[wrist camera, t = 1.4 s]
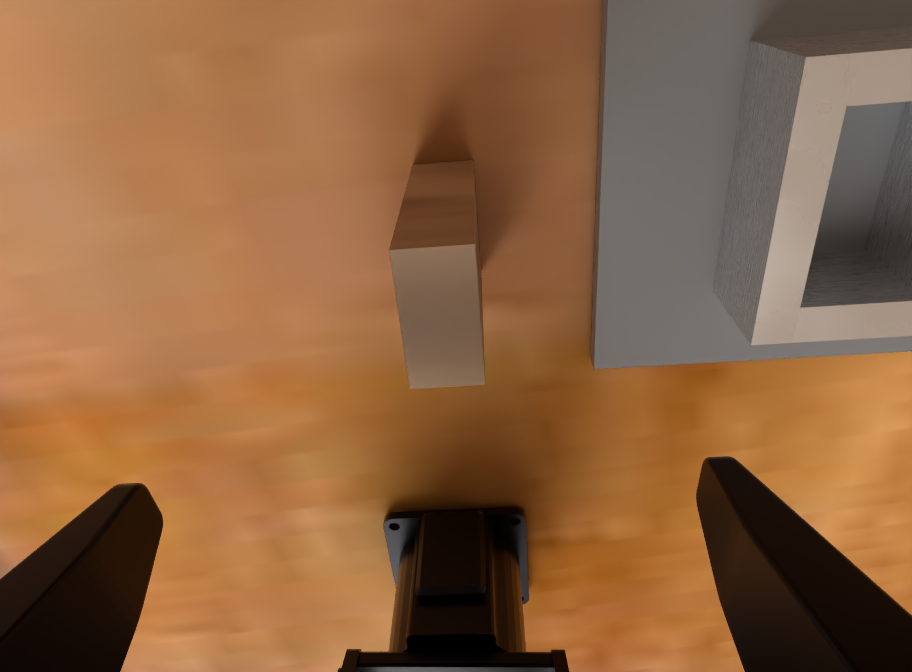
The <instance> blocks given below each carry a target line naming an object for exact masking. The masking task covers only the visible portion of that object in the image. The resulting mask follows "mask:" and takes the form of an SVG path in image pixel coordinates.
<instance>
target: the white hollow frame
mask: <svg viewBox="0 0 912 672" xmlns="http://www.w3.org/2000/svg"><path fill="white" fill-rule="evenodd" d="M895 102H905V103H904V107H903V110H902V114H901V118H900V121H899V125H898V129H897V132H896V136H895V139H894V143H893V147H892V150H891V154H890V158H889V161H888V165H887V168H886V172H885V176H884V179H883V183H882V187H881V190H880V194H879V197H878V201H877V205H876V208H875V212H874V216H873V219H872V223H871V226H870V230H869V234H868V237H867V241H866V245H865V248H864V251H850V252H835V253H820V254H813V250H814V245H815V241H816V237H817V232H818V228H819V224H820V219H821V215H822V211H823V206H824V202H825V198H826V193H827V189H828V185H829V180H830V176H831V172H832V167H833V163H834V159H835V154H836V150H837V145H838V141H839V137H840V132H841V128H842V124H843V119H844V115H845V111H846V106H857V105H870V104H882V103H895ZM713 293H714V295H715V296H716V297H717V299H718V300H719V302H720V303H721V304H722V306H723V307H724V308H725V310H726V311H727V313H728V314H729V315H730V317H731V318H732V320H733V321H734V322H735V324H736V325H737V327H738V328H739V329H740V331H741V332H742V333H743V335H744V336H745V338H746V339H747V340H748V342H749V343H750V345H764V344H781V343H798V342H816V341H833V340H850V339H867V338H884V337H901V336H912V26H905V27H894V28H882V29H871V30H860V31H848V32H837V33H825V34H814V35H802V36H791V37H779V38H768V39H756V40H749V44H748V51H747V58H746V65H745V72H744V79H743V85H742V92H741V99H740V106H739V113H738V120H737V127H736V134H735V140H734V147H733V154H732V161H731V168H730V175H729V182H728V189H727V196H726V202H725V209H724V216H723V223H722V230H721V237H720V244H719V251H718V257H717V264H716V271H715V278H714V285H713Z"/></svg>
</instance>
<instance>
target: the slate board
mask: <svg viewBox="0 0 912 672" xmlns="http://www.w3.org/2000/svg"><path fill="white" fill-rule="evenodd" d="M905 26H912V0H603V3H602V33H601V63H600V92H599V122H598V152H597V181H596V211H595V241H594V270H593V300H592V330H591V361H592V364H593V368H594V369H609V368H626V367H644V366H661V365H679V364H697V363H714V362H732V361H749V360H767V359H785V358H802V357H820V356H837V355H855V354H872V353H890V352H908V351H912V336H901V337H884V338H867V339H850V340H833V341H816V342H798V343H781V344H764V345H750V343H749V342H748V340H747V339H746V338H745V336H744V335H743V333H742V332H741V331H740V329H739V328H738V327H737V325H736V324H735V322H734V321H733V320H732V318H731V317H730V315H729V314H728V313H727V311H726V310H725V308H724V307H723V306H722V304H721V303H720V302H719V300H718V299H717V297H716V296H715V295H714V293H713V285H714V278H715V271H716V264H717V257H718V251H719V244H720V237H721V230H722V223H723V216H724V209H725V202H726V196H727V189H728V182H729V175H730V168H731V161H732V154H733V147H734V140H735V134H736V127H737V120H738V113H739V106H740V99H741V92H742V85H743V79H744V72H745V65H746V58H747V51H748V44H749V40H756V39H768V38H779V37H791V36H802V35H814V34H825V33H837V32H848V31H860V30H871V29H882V28H894V27H905ZM904 103H905V102H895V103H882V104H870V105H857V106H846V111H845V115H844V119H843V124H842V128H841V132H840V137H839V141H838V145H837V150H836V154H835V159H834V163H833V167H832V172H831V176H830V180H829V185H828V189H827V193H826V198H825V202H824V206H823V211H822V215H821V219H820V224H819V228H818V232H817V237H816V241H815V245H814V250H813V254H820V253H835V252H850V251H864V248H865V245H866V241H867V237H868V234H869V230H870V226H871V223H872V219H873V216H874V212H875V208H876V205H877V201H878V197H879V194H880V190H881V187H882V183H883V179H884V176H885V172H886V168H887V165H888V161H889V158H890V154H891V150H892V147H893V143H894V139H895V136H896V132H897V129H898V125H899V121H900V118H901V114H902V110H903V107H904Z"/></svg>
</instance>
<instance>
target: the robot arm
mask: <svg viewBox="0 0 912 672" xmlns="http://www.w3.org/2000/svg"><path fill="white" fill-rule="evenodd" d="M696 500H697V507H698V512H699V516H700V520H701V524H702V529H703V533H704V537H705V541H706V546H707V550H708V554H709V558H710V563H711V567H712V571H713V575H714V580H715V584H716V588H717V592H718V596H719V600H720V603H721V606H722V609H723V612H724V615H725V618H726V620H727V623H728V626H729V629H730V632H731V634H732V637H733V640H734V643H735V645H736V648H737V651H738V654H739V657H740V659H741V662H742V665H743V668H744V671H745V672H912V615H911V614H909V613H908V612H907V611H906V610H905V609H904V608H903V607H902V606H900V605H899V604H898V603H897V602H896V601H895V600H894V599H893V598H891V597H890V596H889V595H888V594H887V593H886V592H885V591H884V590H882V589H881V588H880V587H879V586H878V585H877V584H876V583H875V582H873V581H872V580H871V579H870V578H869V577H868V576H867V575H866V574H864V573H863V572H862V571H861V570H860V569H859V568H858V567H857V566H855V565H854V564H853V563H852V562H851V561H850V560H849V559H848V558H846V557H845V556H844V555H843V554H842V553H841V552H840V551H839V550H837V549H836V548H835V547H834V546H833V545H832V544H831V543H830V542H828V541H827V540H826V539H825V538H824V537H823V536H822V535H821V534H819V533H818V532H817V531H816V530H815V529H814V528H813V527H812V526H810V525H809V524H808V523H807V522H806V521H805V520H804V519H803V518H801V517H800V516H799V515H798V514H797V513H796V512H795V511H794V510H792V509H791V508H790V507H789V506H788V505H787V504H786V503H785V502H783V501H782V500H781V499H780V498H779V497H778V496H777V495H776V494H774V493H773V492H772V491H771V490H770V489H769V488H768V487H766V486H765V485H764V484H763V483H762V482H761V481H760V480H759V479H757V478H756V477H755V476H754V475H753V474H752V473H751V472H750V471H748V470H747V469H746V468H745V467H744V466H743V465H742V464H741V463H739V462H738V461H737V460H736V459H734V458H732V457H708V458H706V459H705V460H704V461H703V464H702V468H701V473H700V478H699V483H698V487H697V493H696ZM513 518H516V519H513ZM393 523H397V524H393ZM162 528H163V518H162V514H161V512H160V510H159V508H158V506H157V505H156V503H155V501H154V499H153V497H152V496H151V494H150V492H149V490H148V489H147V487H146V486H145V485H143V484H142V483H127V484H118V485H116V486H114V487H113V488H111V489H110V490H109V491H107V492H106V493H105V494H104V495H103V496H101V497H100V498H99V499H98V500H96V501H95V502H94V503H93V504H92V505H90V506H89V507H88V508H87V509H85V510H84V511H83V512H82V513H81V514H79V515H78V516H77V517H76V518H74V519H73V520H72V521H71V522H70V523H68V524H67V525H66V526H65V527H63V528H62V529H61V530H60V531H59V532H57V533H56V534H55V535H54V536H52V537H51V538H50V539H49V540H48V541H46V542H45V543H44V544H43V545H41V546H40V547H39V548H38V549H37V550H35V551H34V552H33V553H32V554H30V555H29V556H28V557H27V558H26V559H24V560H23V561H22V562H21V563H19V564H18V565H17V566H16V567H15V568H13V569H12V570H11V571H10V572H8V573H7V574H6V575H5V576H3V577H2V578H1V579H0V672H120V671H121V668H122V665H123V663H124V660H125V657H126V655H127V652H128V649H129V646H130V644H131V641H132V638H133V635H134V633H135V630H136V627H137V624H138V621H139V618H140V614H141V611H142V607H143V604H144V600H145V596H146V592H147V588H148V584H149V580H150V576H151V572H152V568H153V564H154V560H155V556H156V552H157V548H158V545H159V541H160V537H161V533H162ZM384 532H385V537H386V542H387V547H388V551H389V556H390V561H391V566H392V571H393V576H394V580H395V585H396V594H395V602H394V611H393V619H392V628H391V636H390V645H389V652H361V649H347V651H346V654H345V658H344V661H343V665H342V668H339V669H338V672H569V668H568V664H567V659H566V654H565V650H551V652H526V643H525V630H524V618H523V604H525V603H527V602H528V600H529V589H528V561H527V533H526V515H525V512H524V510H522V509H521V508H518V507H504V508H481V509H458V510H435V511H413V512H393V513H389V514H387V515H386V516H385V519H384Z"/></svg>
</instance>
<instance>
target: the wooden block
mask: <svg viewBox="0 0 912 672" xmlns="http://www.w3.org/2000/svg"><path fill="white" fill-rule="evenodd" d="M389 253H390V259H391V266H392V273H393V279H394V286H395V293H396V299H397V306H398V313H399V319H400V326H401V333H402V339H403V346H404V353H405V359H406V366H407V373H408V379H409V386H410V389H422V388H439V387H457V386H475V385H485V365H484V336H483V307H482V278H481V260H480V246H479V231H478V216H477V202H476V187H475V173H474V160H465V161H452V162H439V163H427V164H414V165H413V166H412V169H411V173H410V177H409V180H408V184H407V187H406V191H405V195H404V198H403V202H402V205H401V209H400V213H399V216H398V220H397V224H396V227H395V231H394V234H393V238H392V242H391V245H390V249H389Z"/></svg>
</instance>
